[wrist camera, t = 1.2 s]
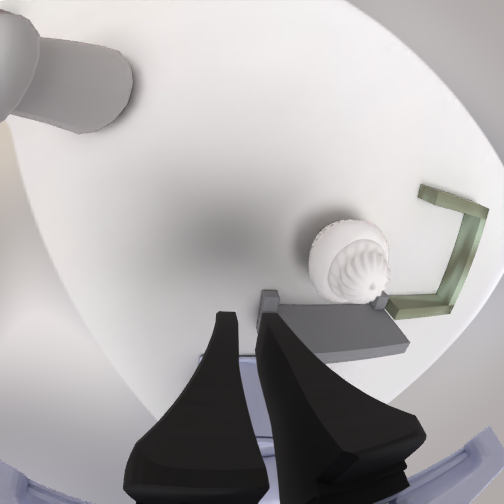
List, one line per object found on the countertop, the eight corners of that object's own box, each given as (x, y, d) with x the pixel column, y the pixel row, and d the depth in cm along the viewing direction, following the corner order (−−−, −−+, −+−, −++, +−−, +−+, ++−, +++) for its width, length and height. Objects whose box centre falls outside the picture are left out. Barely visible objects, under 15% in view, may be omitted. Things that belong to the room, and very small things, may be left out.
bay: (438, 302, 26) (450, 313, 24) (382, 305, 25) (394, 319, 23) (473, 201, 21) (489, 208, 19) (420, 184, 20) (438, 191, 18)
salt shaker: (146, 50, 14) (51, -41, 2) (140, 128, 16) (12, 136, 4) (72, 64, 13) (-56, 32, 1) (68, 136, 15) (-74, 171, 3)
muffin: (327, 189, 19) (376, 220, 13) (378, 231, 21) (428, 270, 15) (279, 255, 21) (305, 310, 15) (334, 288, 23) (369, 340, 17)
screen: (370, 324, 26) (397, 364, 20) (256, 327, 24) (267, 379, 18) (384, 291, 24) (417, 329, 19) (262, 290, 22) (277, 340, 17)
